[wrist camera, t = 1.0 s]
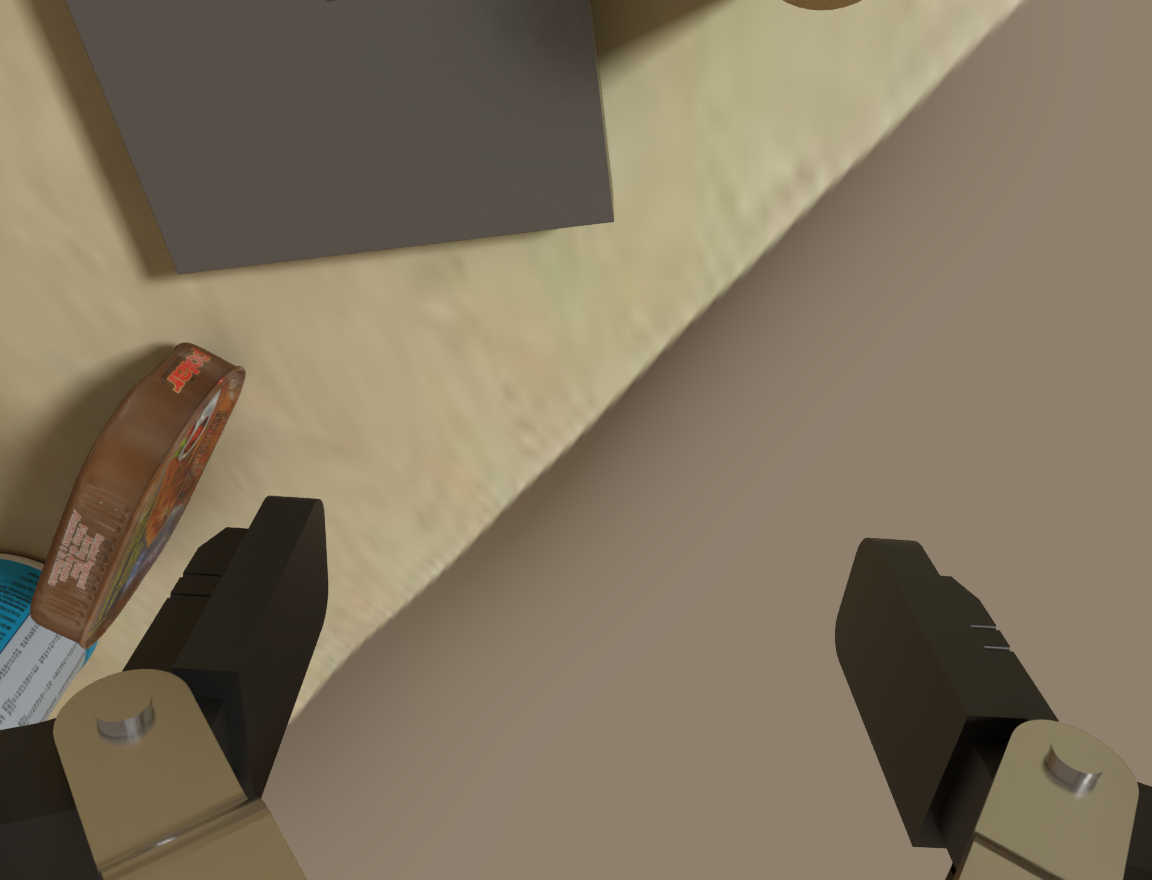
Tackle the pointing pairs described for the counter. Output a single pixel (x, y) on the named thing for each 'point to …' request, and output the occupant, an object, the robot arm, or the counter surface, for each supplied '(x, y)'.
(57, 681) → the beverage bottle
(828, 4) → the golden brown cylinder
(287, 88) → the jig
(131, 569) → the tin
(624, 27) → the counter surface
